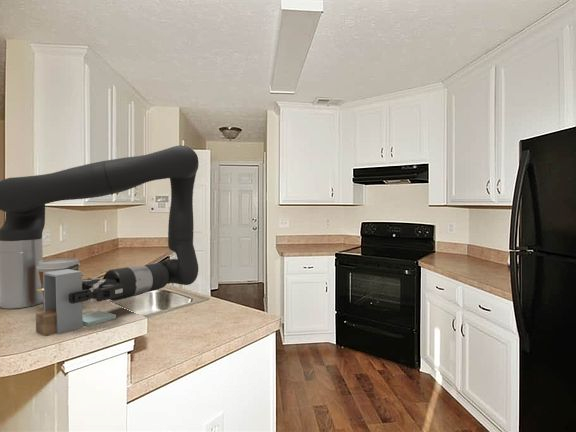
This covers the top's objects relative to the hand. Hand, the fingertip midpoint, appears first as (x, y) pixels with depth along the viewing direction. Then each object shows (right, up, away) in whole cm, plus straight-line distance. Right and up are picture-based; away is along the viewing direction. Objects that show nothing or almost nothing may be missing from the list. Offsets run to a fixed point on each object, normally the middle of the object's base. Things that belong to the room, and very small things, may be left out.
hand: (59, 295), depth 75 cm
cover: (0, -7, +1) cm, 7 cm away
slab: (+4, -7, +6) cm, 10 cm away
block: (-1, -7, -1) cm, 7 cm away
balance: (-6, -7, +11) cm, 14 cm away
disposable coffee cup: (-10, -7, +17) cm, 21 cm away
